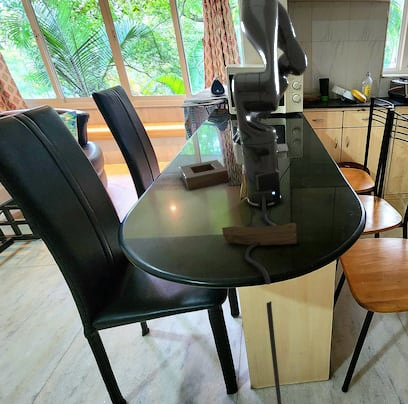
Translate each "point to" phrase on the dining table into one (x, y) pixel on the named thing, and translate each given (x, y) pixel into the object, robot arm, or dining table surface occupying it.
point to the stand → (204, 174)
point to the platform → (282, 147)
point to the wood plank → (262, 234)
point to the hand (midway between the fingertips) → (236, 142)
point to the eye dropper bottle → (238, 152)
